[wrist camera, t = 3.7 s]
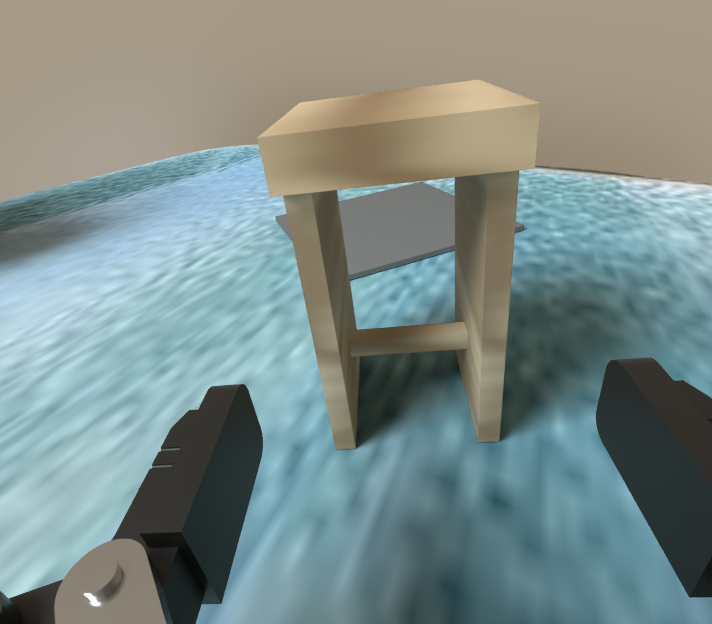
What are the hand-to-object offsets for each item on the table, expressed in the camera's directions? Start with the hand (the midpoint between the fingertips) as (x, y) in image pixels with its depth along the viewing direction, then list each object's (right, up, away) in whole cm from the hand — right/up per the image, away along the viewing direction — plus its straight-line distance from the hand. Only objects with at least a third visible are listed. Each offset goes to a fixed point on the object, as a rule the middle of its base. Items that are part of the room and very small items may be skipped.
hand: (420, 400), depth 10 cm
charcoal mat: (+1, +10, +28) cm, 30 cm away
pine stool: (+1, -2, +10) cm, 10 cm away
